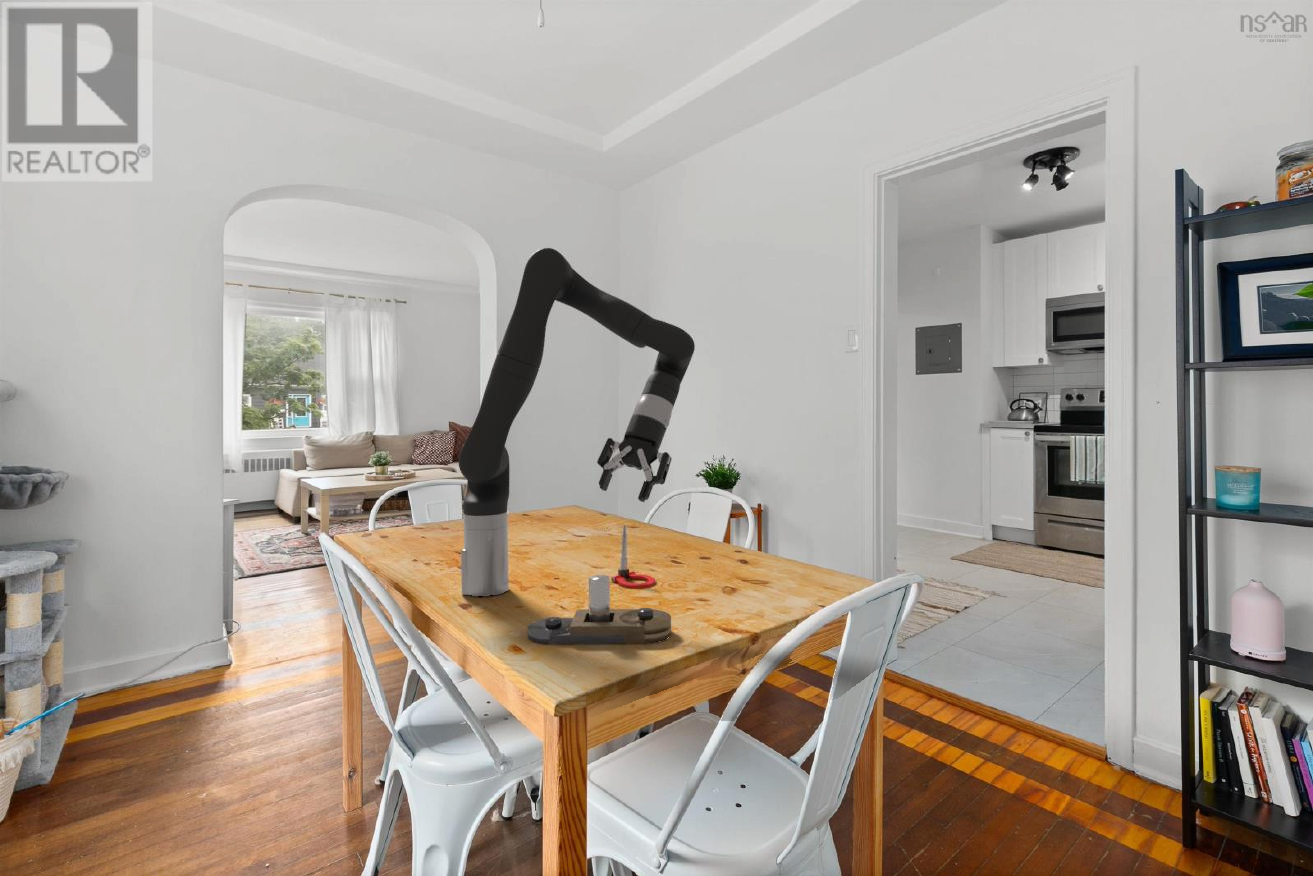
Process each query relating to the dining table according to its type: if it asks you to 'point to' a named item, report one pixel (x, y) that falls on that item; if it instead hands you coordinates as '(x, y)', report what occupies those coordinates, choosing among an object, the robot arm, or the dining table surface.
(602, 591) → the steel pin
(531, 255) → the robot arm
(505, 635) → the dining table surface
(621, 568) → the tow hook
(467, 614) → the dining table surface
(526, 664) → the dining table surface
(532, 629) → the square hole link plate
